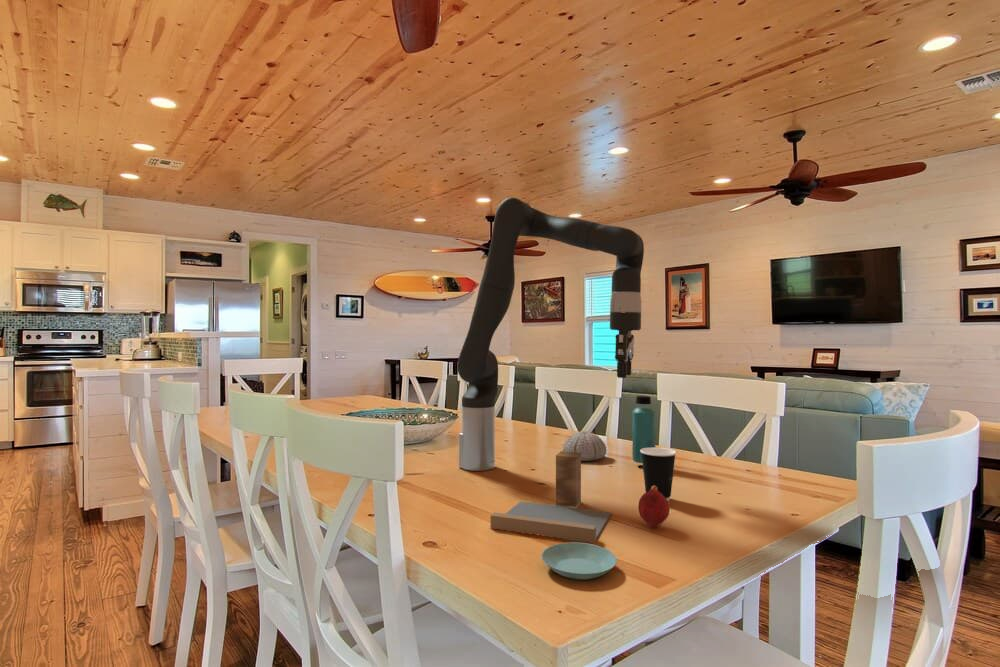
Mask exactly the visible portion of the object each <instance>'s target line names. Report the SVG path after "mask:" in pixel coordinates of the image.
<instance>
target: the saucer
mask: <svg viewBox="0 0 1000 667" xmlns="http://www.w3.org/2000/svg"><path fill="white" fill-rule="evenodd" d="M541 560H542V561H543V563H545V565H546V566H547V567H548V568H550V569H551V570H552V571H553V572H554V573H557V574H558V575H560V576H562V577H564V578H568V579H571V580H580V581H581V580H582V581H583V580H584V581H586V580H593V579H596V578H599V577H601V576H603V575H605V574H607V573H609V571H610V570H612V569H613V568H614V567H615V566H616V565H617V561H618V560H617V557H616V555H615V554H614V553H613V552H612V551H611V550H609V549H607V548H605V547H603V546H599V545H596V544H594V543H588V542H578V541H575V542H572V541H571V542H563V543H562V542H560V543H557V544H553V545H550V546H547V548H545V549H544V550H543V551H542V553H541Z"/></svg>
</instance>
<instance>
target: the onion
mask: <svg viewBox="0 0 1000 667" xmlns="http://www.w3.org/2000/svg"><path fill="white" fill-rule="evenodd" d="M657 489H658V487H656V486H655V485H654V486H652V487H651V489H650V490H649V491H648V492H646V491H645V492H644V493H643V494H642V496H640V498H639V501H638V508H637V509H638V514H639V515H640V518H641V519H642V521H644V522H645V523H646V524H647V525H649V526H650V527H651V528H657V527H658V526H659V525H661V524H662V523H664V522H665V521H666V520H667V519H668V517H669V515H670V505H669V501H668V502H667V500H666V498H665V497H664V496H663V494H661V493H660V492H659V491H658V490H657Z"/></svg>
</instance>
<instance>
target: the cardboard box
mask: <svg viewBox="0 0 1000 667" xmlns="http://www.w3.org/2000/svg"><path fill="white" fill-rule="evenodd" d="M581 503H582V461H581V453H575V452H563V450H562V451H560V452H558V453H557V454H556V455H555V506H561V507H570V508H578V507H579V506H580V504H581Z"/></svg>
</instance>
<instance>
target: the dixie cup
mask: <svg viewBox="0 0 1000 667" xmlns="http://www.w3.org/2000/svg"><path fill="white" fill-rule="evenodd" d="M640 452H641V453H642V462H643V463H642V468H643V469H642V470H643V478H644V480H643V481H644V488H645V489H644V491H645V493H646V492H648V491H649V490H650V489H651V487H652V486H654V485H655V486H656V487H658V489H657V490H658V491H659V492H660V493H661V494H663V496H664V497H665V498H666V500H667V501H668V502H670V498H671V496H672V495H671V494H672V487H673V478H674V471H675V469H674V468H675V462H676V461H675V460H676V455H677V454H678V453H677V451H676V450H674V449H671V448H666V447H665V448H664V447H655V448H643V449H641V450H640Z"/></svg>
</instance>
